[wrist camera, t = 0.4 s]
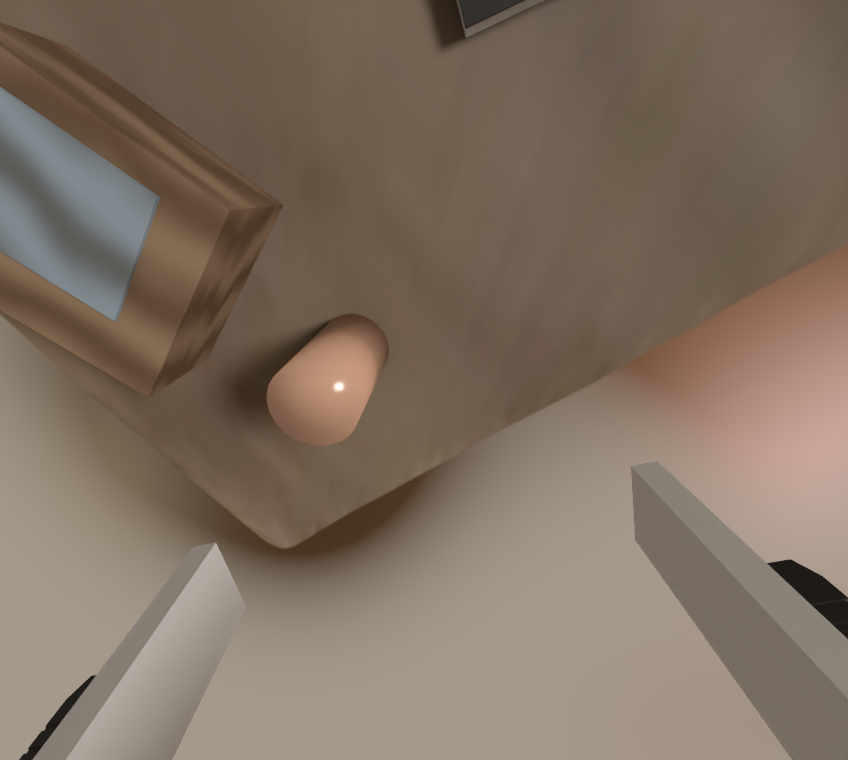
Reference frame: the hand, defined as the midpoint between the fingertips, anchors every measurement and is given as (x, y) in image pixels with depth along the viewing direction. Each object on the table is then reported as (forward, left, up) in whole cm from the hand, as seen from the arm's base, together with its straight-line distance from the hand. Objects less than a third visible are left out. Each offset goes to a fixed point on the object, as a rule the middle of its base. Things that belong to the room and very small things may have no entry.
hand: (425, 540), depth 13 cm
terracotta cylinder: (+8, -5, -25) cm, 27 cm away
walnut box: (+10, -25, -25) cm, 37 cm away
